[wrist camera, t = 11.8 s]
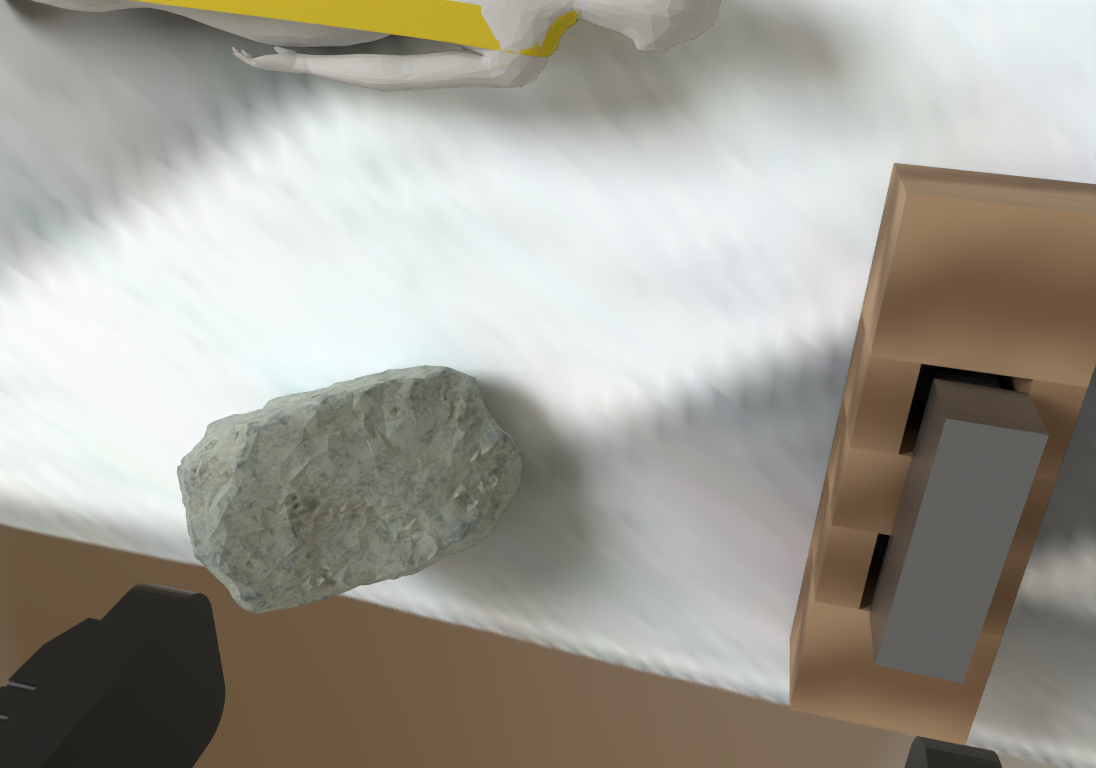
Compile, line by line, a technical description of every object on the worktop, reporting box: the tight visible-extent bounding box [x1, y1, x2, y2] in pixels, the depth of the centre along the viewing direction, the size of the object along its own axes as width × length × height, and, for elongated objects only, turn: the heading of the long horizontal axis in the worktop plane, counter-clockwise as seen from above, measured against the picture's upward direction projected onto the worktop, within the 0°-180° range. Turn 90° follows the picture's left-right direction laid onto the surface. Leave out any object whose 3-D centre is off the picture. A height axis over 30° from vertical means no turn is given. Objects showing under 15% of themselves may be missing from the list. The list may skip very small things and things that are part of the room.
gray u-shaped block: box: [869, 364, 1049, 683], centre depth 35 cm, size 10×3×8 cm, turn 176°
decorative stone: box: [177, 366, 524, 614], centre depth 42 cm, size 14×11×10 cm
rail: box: [790, 163, 1096, 745], centre depth 37 cm, size 22×7×4 cm, turn 177°
